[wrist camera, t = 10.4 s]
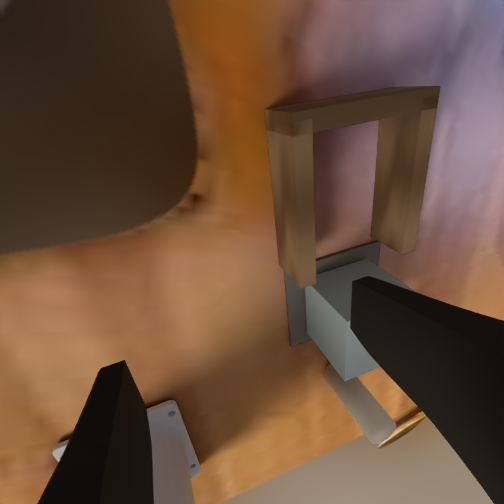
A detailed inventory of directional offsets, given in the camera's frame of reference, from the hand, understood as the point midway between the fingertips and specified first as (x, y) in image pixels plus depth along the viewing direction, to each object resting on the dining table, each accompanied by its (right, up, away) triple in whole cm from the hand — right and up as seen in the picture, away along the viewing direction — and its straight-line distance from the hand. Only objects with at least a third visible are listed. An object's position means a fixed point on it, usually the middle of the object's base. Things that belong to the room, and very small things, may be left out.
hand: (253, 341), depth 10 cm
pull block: (+7, -3, +15) cm, 17 cm away
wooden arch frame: (+5, +7, +10) cm, 13 cm away
